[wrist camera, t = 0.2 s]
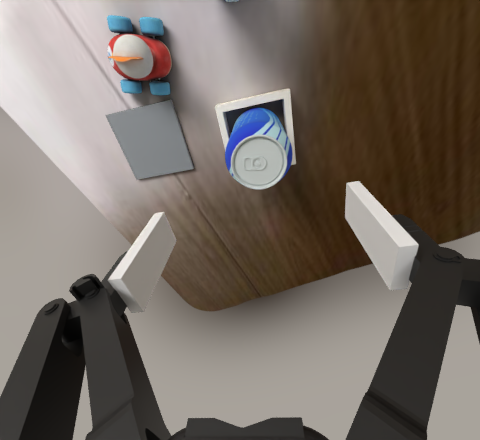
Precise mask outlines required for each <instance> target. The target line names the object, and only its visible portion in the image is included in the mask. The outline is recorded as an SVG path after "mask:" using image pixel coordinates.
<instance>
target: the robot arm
mask: <svg viewBox="0 0 480 440" xmlns="http://www.w3.org/2000/svg"><path fill="white" fill-rule="evenodd" d="M345 218H346V220H347V222H348V223H349V225H350V226H351V228H352V230H353V231H354V233H355V235H356V236H357V238H358V239H359V241H360V243H361V244H362V246H363V248H364V249H365V251H366V252H367V254H368V256H369V257H370V259H371V261H372V262H373V264H374V265H375V267H376V269H377V270H378V272H379V274H380V275H381V277H382V278H383V280H384V282H385V283H386V285H387V287H388V288H389V290H400V289H407V287H408V284H409V280H410V281H411V283H412V285H411V287H410V290H409V292H408V295H407V297H406V299H405V302H404V304H403V307H402V309H401V312H400V314H399V317H398V319H397V321H396V324H395V326H394V329H393V331H392V333H391V336H390V338H389V341H388V343H387V346H386V348H385V351H384V353H383V355H382V358H381V360H380V363H379V365H378V368H377V370H376V372H375V375H374V377H373V380H372V382H371V385H370V387H369V389H368V391H367V392H366V393H365V396H364V397H363V400H362V402H361V404H360V406H359V409H358V411H357V414H356V416H355V418H354V421H353V423H352V426H351V428H350V430H349V433H348V435H347V438H346V440H427V425H428V421H429V416H430V412H431V408H432V404H433V400H434V395H435V391H436V387H437V382H438V378H439V374H440V370H441V365H442V361H443V357H444V353H445V349H446V345H447V340H448V336H449V332H450V328H451V323H452V319H453V315H454V310H455V307H456V305H463V306H469V307H471V310H472V314H473V318H474V322H475V326H476V331H477V335H478V339H479V343H480V260H476V259H467V258H464V257H463V256H462V255H461V254H460V253H458V252H456V251H455V250H452V249H449V248H444V247H440V246H439V245H438V244H436V243H435V242H434V241H433V240H432V239H431V238H430V237H429V236H428V235H427V234H426V233H425V232H424V231H422V229H421V228H420V227H419V226H417V225H416V224H415V223H414V222H413V221H412V220H411V219H410V218H408V217H406V216H404V215H401V214H399V215H392V216H391V215H390V214H389V213H388V212H387V210H386V209H385V208H384V207H383V206H382V205H381V204H380V203H379V202H378V201H377V200H376V199H375V198H374V197H373V196H372V195H371V194H370V192H369V191H368V190H367V189H366V188H365V187H364V186H363V185H362V184H361V183H360V182H359V181H355V182H349V183H346V206H345ZM176 241H177V240H176V238H175V236H174V233H173V231H172V229H171V227H170V224H169V222H168V220H167V218H166V215H165V213H164V212H161V213H155V214H154V215H153V217H152V218H151V219H150V221H149V222H148V224H147V225H146V227H145V228H144V229H143V231H142V232H141V234H140V235H139V236H138V238H137V239H136V241H135V242H134V244H133V245H132V246H131V248H130V249H129V251H128V252H125V253H124V254H123V255H121V256H120V257H119V258H118V260H117V261H116V263H115V264H114V265H113V267H112V269H111V270H110V271H109V272H108V274H107V275H106V276H105V278H104V279H103V280H102V282H100V281H99V279H98V278H97V277H96V275H94V274H90V275H86V276H84V277H82V278H80V279H78V280H77V281H76V282H75V283H73V284H72V286H71V287H70V290H69V291H70V292H71V293H72V295H73V296H74V297H75V298H76V299H77V300H76V301H73V302H71V303H67V302H66V301H65V300H64V299H63V298H60V299H56V300H53V301H51V302H49V303H48V304H46V305H45V306H44V307H43V308H42V309H41V310H40V311H39V313H38V314H37V316H36V318H35V321H34V323H33V325H32V327H31V330H30V332H29V334H28V336H27V339H26V341H25V343H24V345H23V347H22V350H21V352H20V354H19V357H18V359H17V361H16V363H15V365H14V368H13V370H12V372H11V374H10V377H9V379H8V381H7V383H6V386H5V388H4V390H3V392H2V395H1V397H0V440H72V439H73V433H74V427H75V421H76V416H77V410H78V405H79V398H80V393H81V387H82V382H83V376H84V370H85V365H86V371H87V379H88V389H89V397H90V406H91V415H92V423H93V429H92V431H91V432H89V433H88V434H87V436H86V439H85V440H328V439H327V438H326V437H325V436H323V435H322V434H320V433H319V432H317V431H315V430H313V429H311V428H309V427H306V426H303V423H302V418H270V419H267V420H265V421H262V422H259V423H256V424H253V425H250V426H247V427H244V428H240V427H237V426H234V425H232V424H229V423H226V422H224V421H221V420H218V419H215V418H188V422H187V426H186V428H184V429H182V430H180V431H178V432H177V433H175V434H174V435H173V436H171V435H170V433H169V431H168V429H167V428H166V426H165V424H164V421H163V418H162V415H161V413H160V410H159V407H158V404H157V401H156V398H155V395H154V393H153V390H152V387H151V384H150V381H149V378H148V376H147V373H146V370H145V367H144V364H143V361H142V358H141V356H140V353H139V350H138V347H137V344H136V342H135V339H134V336H133V333H132V330H131V327H130V324H129V322H128V319H127V316H126V315H125V313H124V311H125V309H126V307H128V308H129V310H130V311H131V312H132V313H135V312H144V310H145V308H146V306H147V303H148V301H149V299H150V297H151V295H152V293H153V291H154V288H155V286H156V284H157V282H158V280H159V278H160V276H161V273H162V271H163V269H164V267H165V265H166V263H167V260H168V258H169V256H170V254H171V252H172V250H173V248H174V245H175V243H176Z"/></svg>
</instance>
